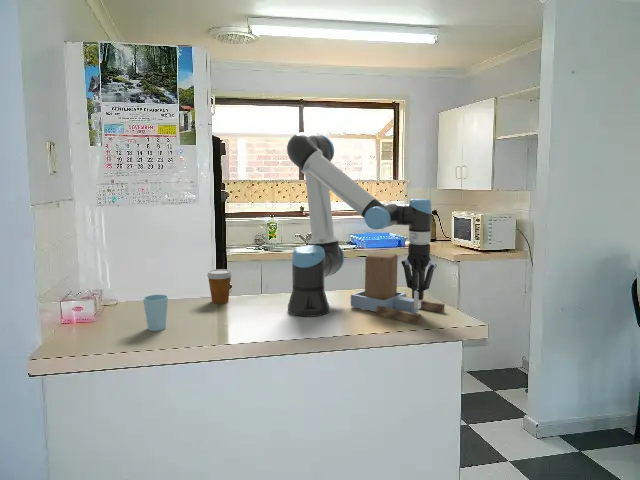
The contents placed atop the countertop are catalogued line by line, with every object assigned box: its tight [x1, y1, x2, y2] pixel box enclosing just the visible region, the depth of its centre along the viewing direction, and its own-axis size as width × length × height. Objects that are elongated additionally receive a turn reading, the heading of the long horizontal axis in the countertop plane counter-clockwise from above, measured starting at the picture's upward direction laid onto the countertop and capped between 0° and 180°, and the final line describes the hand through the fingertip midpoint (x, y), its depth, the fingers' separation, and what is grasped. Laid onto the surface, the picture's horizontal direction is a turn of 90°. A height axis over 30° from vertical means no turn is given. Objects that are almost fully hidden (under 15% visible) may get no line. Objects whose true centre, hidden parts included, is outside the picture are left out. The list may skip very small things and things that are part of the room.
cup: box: [142, 294, 169, 332], centre depth 168 cm, size 8×8×10 cm
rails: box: [375, 296, 446, 325], centre depth 187 cm, size 17×19×3 cm
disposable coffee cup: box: [206, 268, 233, 305], centre depth 201 cm, size 10×10×12 cm
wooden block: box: [364, 252, 398, 300], centre depth 194 cm, size 10×10×20 cm
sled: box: [350, 289, 419, 314], centre depth 192 cm, size 23×15×4 cm, turn 51°
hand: (417, 308), depth 185 cm, fingers closed
